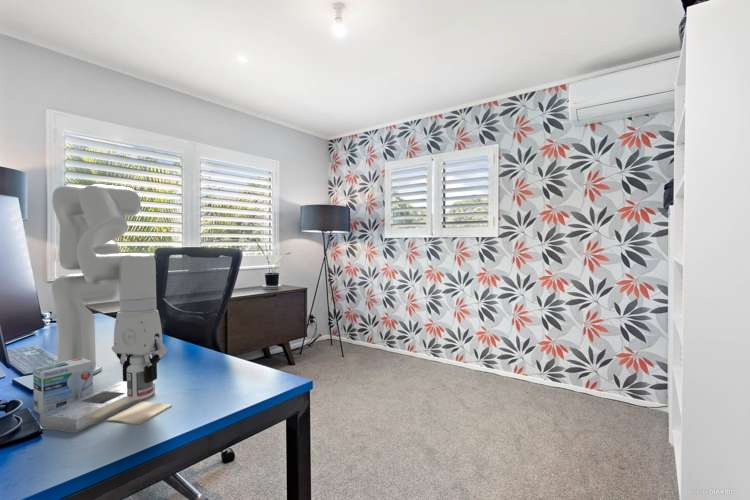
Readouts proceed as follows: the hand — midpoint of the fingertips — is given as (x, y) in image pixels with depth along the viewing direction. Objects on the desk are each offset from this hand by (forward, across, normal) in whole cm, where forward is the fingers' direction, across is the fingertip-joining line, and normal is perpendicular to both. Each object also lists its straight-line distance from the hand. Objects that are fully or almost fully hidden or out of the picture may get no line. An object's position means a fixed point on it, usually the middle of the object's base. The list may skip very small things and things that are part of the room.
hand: (140, 379), depth 93 cm
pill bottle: (+4, 0, 0) cm, 4 cm away
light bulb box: (+8, -23, 0) cm, 24 cm away
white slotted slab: (+8, -11, 0) cm, 14 cm away
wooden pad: (+8, 0, 0) cm, 8 cm away
